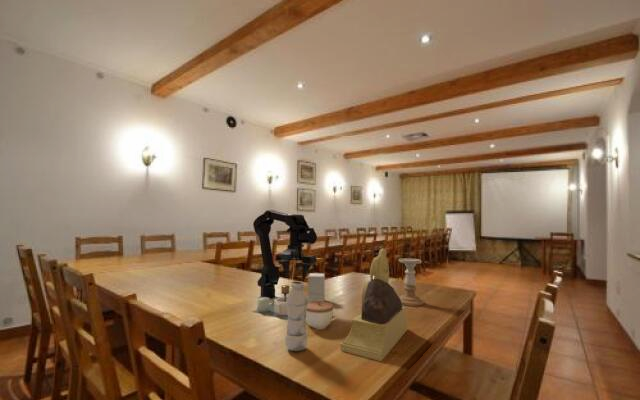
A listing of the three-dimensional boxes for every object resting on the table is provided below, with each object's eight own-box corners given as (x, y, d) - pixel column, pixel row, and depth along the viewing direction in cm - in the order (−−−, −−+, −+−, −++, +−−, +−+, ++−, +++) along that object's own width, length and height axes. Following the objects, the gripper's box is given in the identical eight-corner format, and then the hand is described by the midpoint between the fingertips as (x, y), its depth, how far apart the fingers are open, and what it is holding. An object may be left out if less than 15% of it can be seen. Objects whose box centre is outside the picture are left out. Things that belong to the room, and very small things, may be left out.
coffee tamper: (275, 309, 124) (275, 286, 125) (283, 305, 129) (284, 283, 130) (286, 311, 121) (286, 288, 122) (294, 308, 126) (295, 285, 127)
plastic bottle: (285, 345, 95) (286, 280, 96) (306, 344, 96) (307, 280, 97) (284, 354, 89) (286, 285, 90) (307, 354, 89) (308, 285, 90)
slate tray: (251, 313, 125) (251, 311, 125) (275, 303, 139) (275, 302, 139) (295, 323, 114) (295, 321, 114) (316, 311, 128) (316, 310, 128)
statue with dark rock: (373, 323, 116) (373, 244, 118) (407, 330, 110) (407, 246, 111) (340, 350, 92) (341, 251, 94) (381, 361, 85) (381, 254, 87)
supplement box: (324, 299, 147) (325, 273, 147) (323, 304, 139) (323, 276, 140) (309, 299, 147) (310, 272, 148) (307, 303, 140) (308, 275, 141)
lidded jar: (311, 334, 104) (312, 306, 105) (299, 324, 114) (299, 298, 114) (338, 329, 109) (338, 302, 110) (324, 319, 119) (324, 295, 119)
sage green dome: (254, 311, 126) (255, 299, 126) (262, 308, 130) (263, 296, 130) (264, 313, 123) (264, 301, 123) (271, 310, 127) (272, 298, 128)
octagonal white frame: (268, 314, 123) (268, 301, 123) (282, 307, 131) (283, 296, 131) (284, 317, 118) (285, 304, 119) (299, 311, 127) (299, 299, 127)
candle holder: (427, 306, 138) (427, 261, 139) (400, 306, 138) (400, 261, 139) (419, 299, 150) (419, 258, 151) (394, 298, 150) (394, 257, 151)
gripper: (268, 242, 134) (267, 278, 133) (303, 245, 125) (302, 283, 124) (283, 240, 144) (282, 274, 143) (317, 243, 134) (316, 278, 133)
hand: (295, 277), depth 136 cm, fingers open, 9 cm apart
